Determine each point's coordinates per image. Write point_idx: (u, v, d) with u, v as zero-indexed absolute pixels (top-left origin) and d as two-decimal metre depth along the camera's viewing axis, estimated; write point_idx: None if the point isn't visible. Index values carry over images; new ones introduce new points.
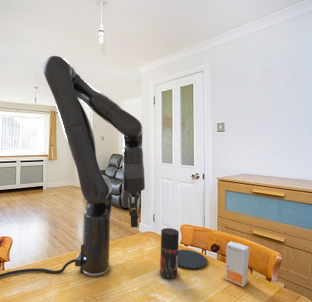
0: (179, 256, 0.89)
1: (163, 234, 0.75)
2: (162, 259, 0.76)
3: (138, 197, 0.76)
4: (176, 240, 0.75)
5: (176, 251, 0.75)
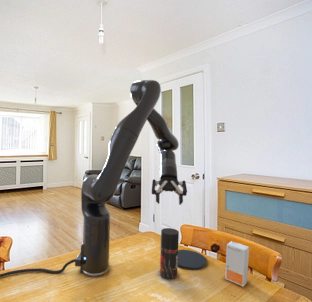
0: (179, 256, 0.89)
1: (163, 234, 0.75)
2: (162, 259, 0.76)
3: None
4: (176, 240, 0.75)
5: (176, 251, 0.75)
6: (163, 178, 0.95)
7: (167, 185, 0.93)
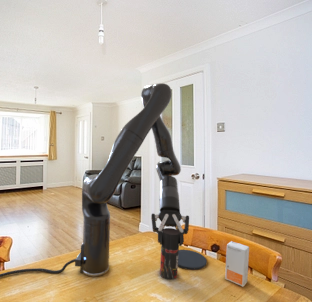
0: (179, 256, 0.89)
1: (164, 234, 0.75)
2: (162, 259, 0.76)
3: None
4: (177, 240, 0.75)
5: (177, 251, 0.75)
6: (163, 210, 0.82)
7: (168, 220, 0.80)
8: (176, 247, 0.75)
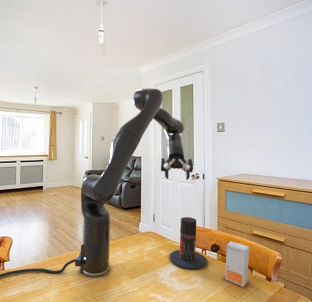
0: (179, 256, 0.89)
1: (183, 222, 0.86)
2: (182, 244, 0.86)
3: None
4: (194, 227, 0.86)
5: (194, 237, 0.86)
6: (171, 157, 1.04)
7: (175, 163, 1.01)
8: (194, 233, 0.85)
